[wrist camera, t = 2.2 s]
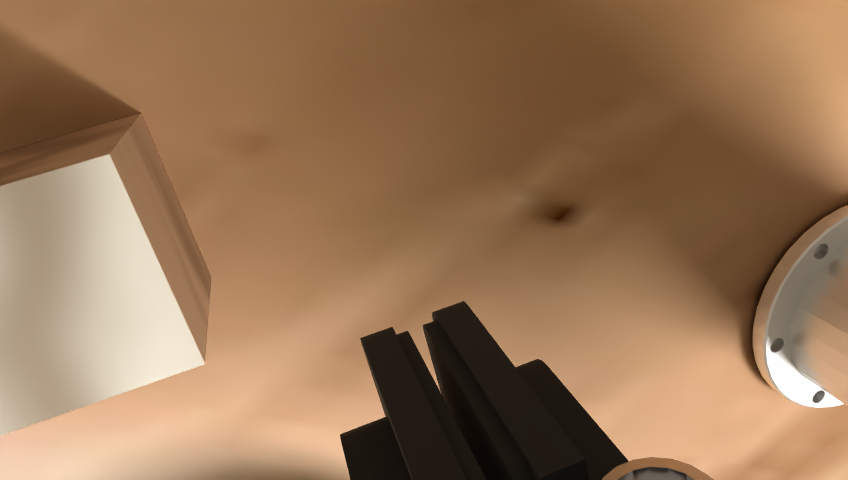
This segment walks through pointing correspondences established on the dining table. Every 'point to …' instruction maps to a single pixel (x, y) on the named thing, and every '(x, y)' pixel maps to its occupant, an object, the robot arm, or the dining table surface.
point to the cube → (93, 273)
